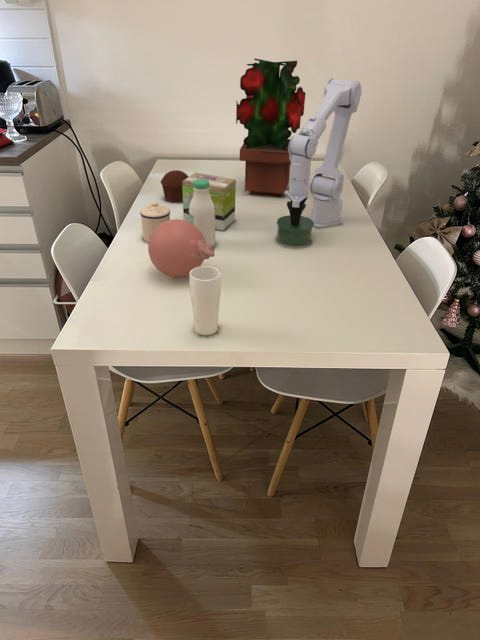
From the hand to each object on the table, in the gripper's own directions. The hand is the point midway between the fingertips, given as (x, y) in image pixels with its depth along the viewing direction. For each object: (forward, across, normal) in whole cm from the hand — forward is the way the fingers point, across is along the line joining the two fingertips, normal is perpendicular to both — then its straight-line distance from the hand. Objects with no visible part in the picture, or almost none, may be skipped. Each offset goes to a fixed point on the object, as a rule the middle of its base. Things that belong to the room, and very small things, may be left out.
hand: (295, 221), depth 151 cm
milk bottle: (+7, +10, -27) cm, 30 cm away
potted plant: (+7, -44, -15) cm, 47 cm away
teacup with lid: (+7, +6, -42) cm, 43 cm away
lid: (+1, 0, 0) cm, 1 cm away
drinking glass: (+7, +53, -15) cm, 56 cm away
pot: (+6, 0, 0) cm, 6 cm away
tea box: (+7, -8, -29) cm, 31 cm away
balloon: (+7, +30, -27) cm, 41 cm away
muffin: (+7, -27, -46) cm, 54 cm away
